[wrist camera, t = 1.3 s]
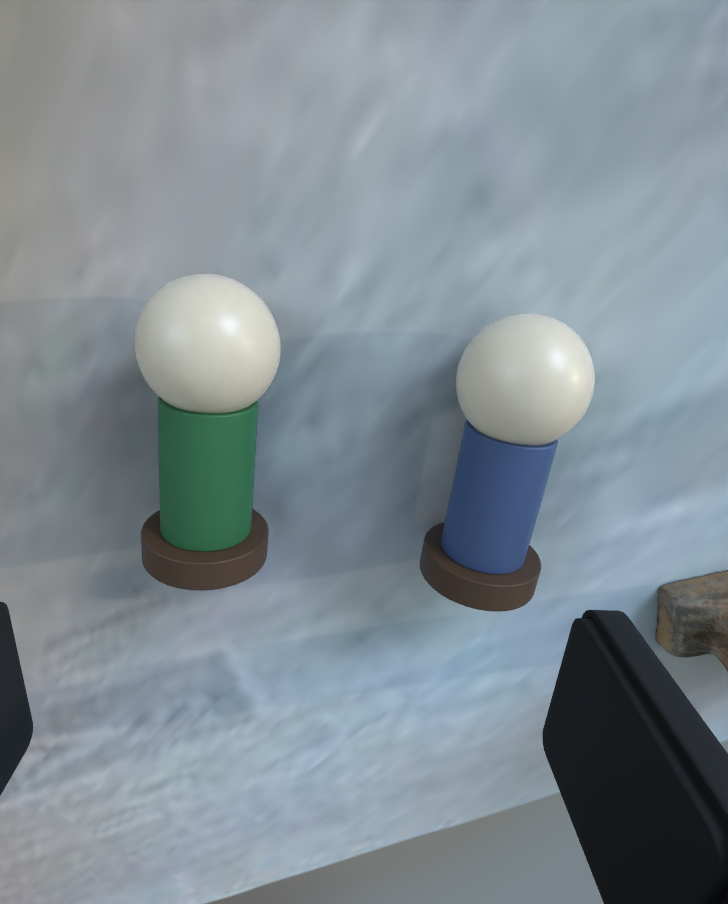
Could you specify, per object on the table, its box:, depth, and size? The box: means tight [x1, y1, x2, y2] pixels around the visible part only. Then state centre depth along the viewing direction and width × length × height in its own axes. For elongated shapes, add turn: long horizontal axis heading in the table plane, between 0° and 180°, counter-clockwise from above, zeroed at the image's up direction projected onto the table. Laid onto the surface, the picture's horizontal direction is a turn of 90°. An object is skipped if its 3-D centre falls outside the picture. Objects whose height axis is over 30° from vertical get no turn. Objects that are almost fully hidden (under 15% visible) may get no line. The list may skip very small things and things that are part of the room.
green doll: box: [134, 274, 281, 590], centre depth 24 cm, size 13×6×6 cm, turn 173°
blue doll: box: [420, 313, 595, 611], centre depth 25 cm, size 13×6×6 cm, turn 173°
